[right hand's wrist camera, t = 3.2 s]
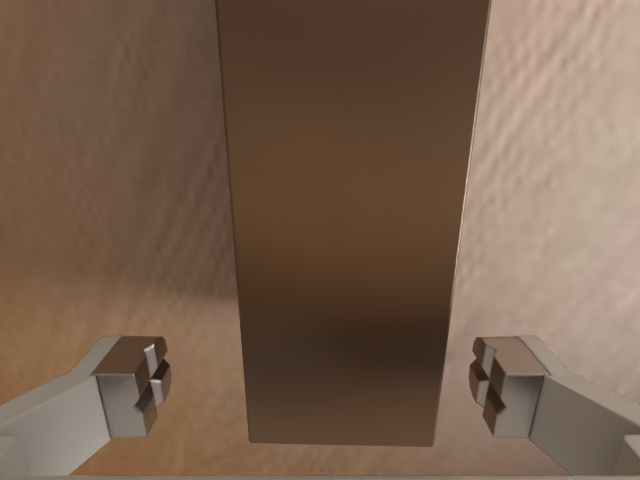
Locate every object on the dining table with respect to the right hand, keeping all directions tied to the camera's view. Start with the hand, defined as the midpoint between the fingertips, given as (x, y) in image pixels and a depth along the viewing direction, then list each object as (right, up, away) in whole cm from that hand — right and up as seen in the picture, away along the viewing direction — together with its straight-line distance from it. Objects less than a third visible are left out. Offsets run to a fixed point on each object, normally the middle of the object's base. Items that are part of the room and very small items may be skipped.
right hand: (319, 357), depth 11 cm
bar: (+1, +10, +5) cm, 12 cm away
